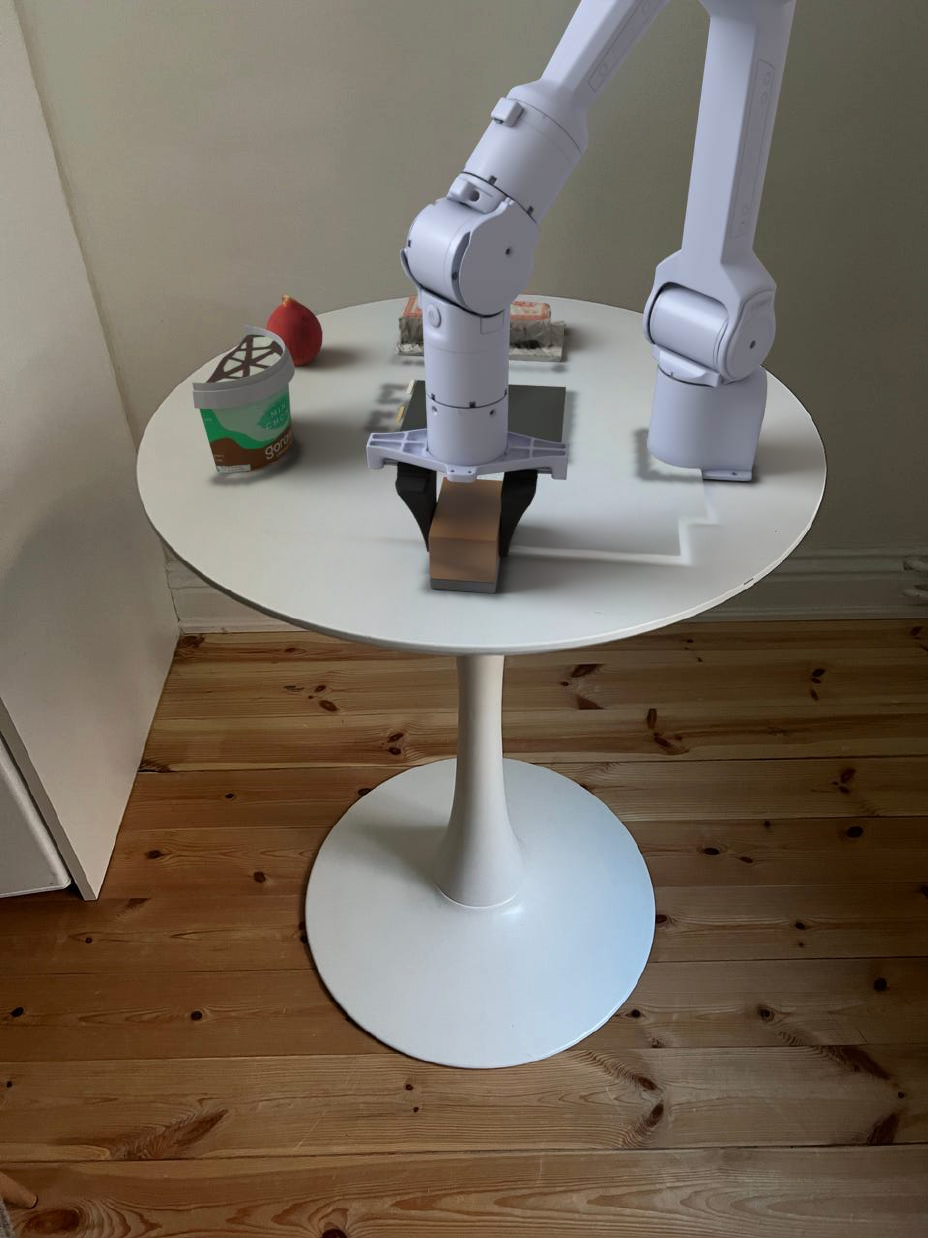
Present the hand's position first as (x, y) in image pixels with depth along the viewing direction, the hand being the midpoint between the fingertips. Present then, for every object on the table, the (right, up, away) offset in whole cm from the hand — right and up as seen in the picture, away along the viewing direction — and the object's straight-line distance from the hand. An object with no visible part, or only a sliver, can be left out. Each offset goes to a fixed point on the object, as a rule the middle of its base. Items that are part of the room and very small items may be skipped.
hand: (468, 547), depth 72 cm
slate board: (+2, +14, +17) cm, 22 cm away
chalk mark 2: (-7, +18, +21) cm, 28 cm away
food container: (-18, +9, +13) cm, 24 cm away
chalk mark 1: (-8, +14, +17) cm, 23 cm away
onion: (-18, +21, +27) cm, 38 cm away
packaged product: (+2, +24, +30) cm, 39 cm away
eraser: (0, -1, +1) cm, 1 cm away
